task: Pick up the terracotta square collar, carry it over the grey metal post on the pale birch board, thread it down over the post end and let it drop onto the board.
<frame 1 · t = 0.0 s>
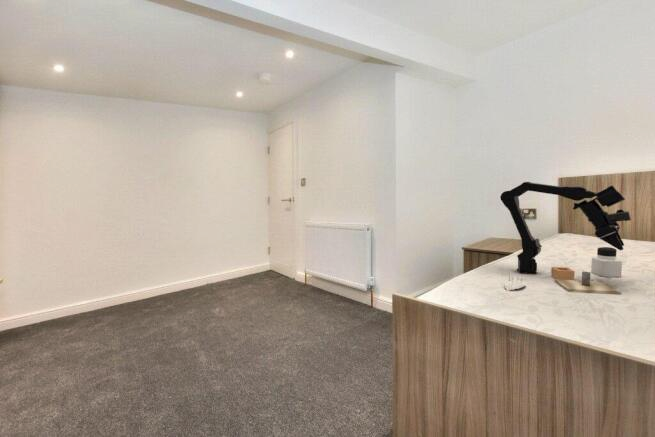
hand: (622, 247, 115), 15 cm above the countertop, tool tilted 35°, fingers open, 9 cm apart
pincushion: (515, 288, 119), on the countertop
collar: (562, 278, 128), on the countertop
post stand: (585, 287, 116), on the countertop
medicine bottle: (605, 275, 130), on the countertop
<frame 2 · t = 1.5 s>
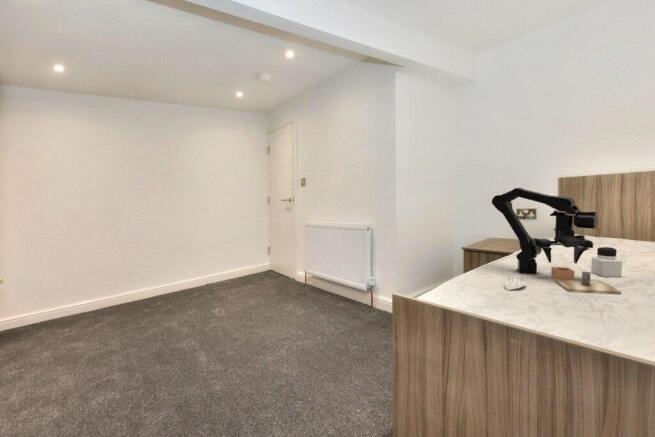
hand: (562, 263, 127), 7 cm above the countertop, tool pointing down, fingers open, 9 cm apart
nothing on the countertop moved.
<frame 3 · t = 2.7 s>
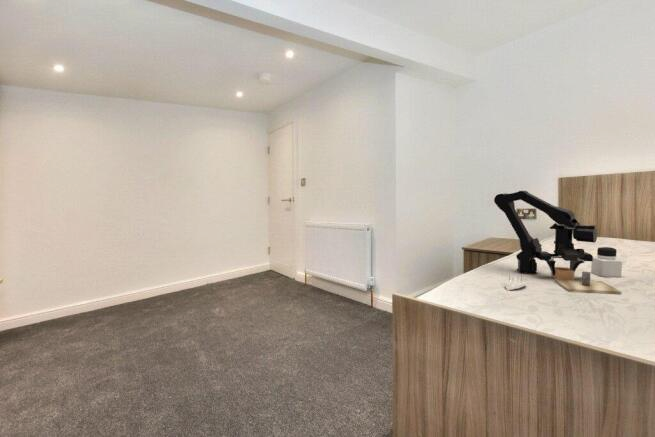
hand: (562, 275, 128), 1 cm above the countertop, tool pointing down, fingers closed on collar, 6 cm apart
collar: (562, 278, 128), on the countertop, touching gripper
everything else where it was.
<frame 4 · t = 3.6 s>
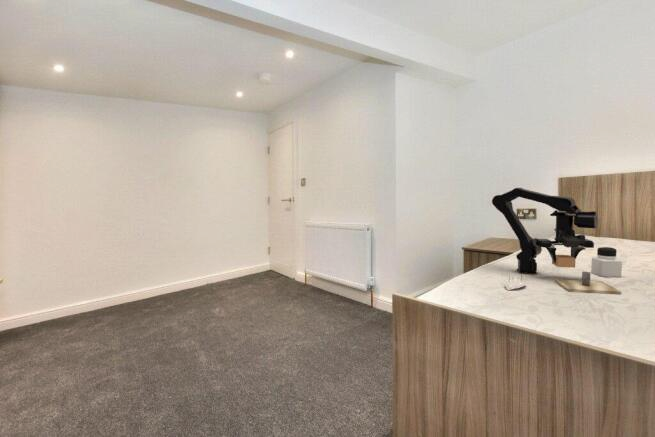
hand: (563, 263, 127), 7 cm above the countertop, tool pointing down, fingers closed on collar, 6 cm apart
collar: (563, 265, 127), point 6 cm above the countertop, touching gripper
everything else where it was.
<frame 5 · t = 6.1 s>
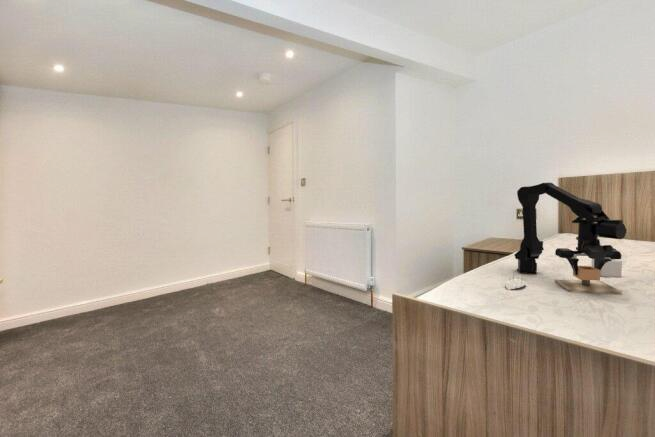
hand: (586, 275, 115), 5 cm above the countertop, tool pointing down, fingers closed on collar, 6 cm apart
collar: (585, 277, 115), point 4 cm above the countertop, touching gripper
when the fingers open (4 cm above the countertop, at t = 6.6 s): collar drops 2 cm, resting on post stand.
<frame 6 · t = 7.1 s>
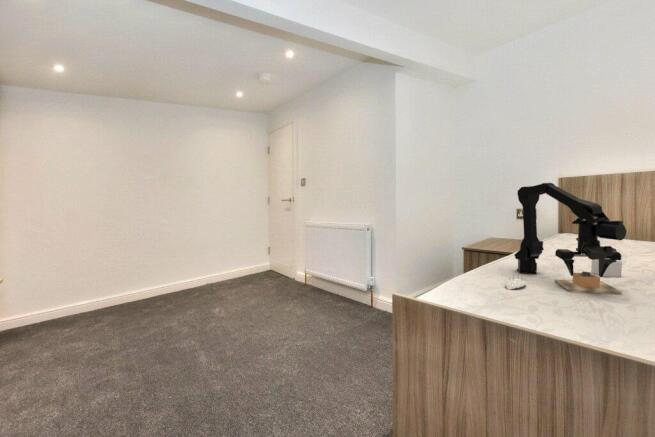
hand: (586, 276, 115), 4 cm above the countertop, tool pointing down, fingers open, 9 cm apart
collar: (585, 285, 115), point 1 cm above the countertop, touching post stand
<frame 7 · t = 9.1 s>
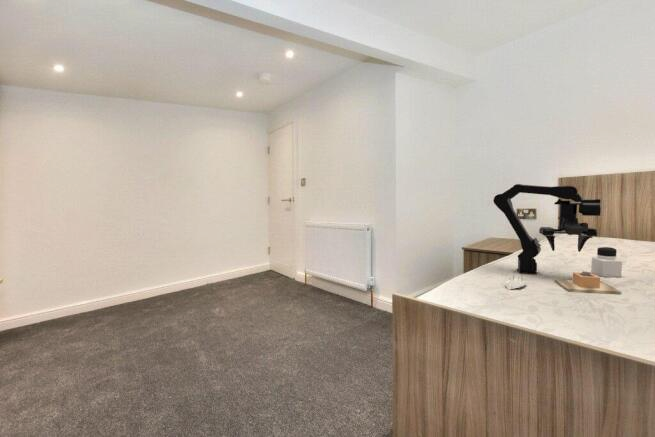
hand: (566, 251, 128), 11 cm above the countertop, tool pointing down, fingers open, 9 cm apart
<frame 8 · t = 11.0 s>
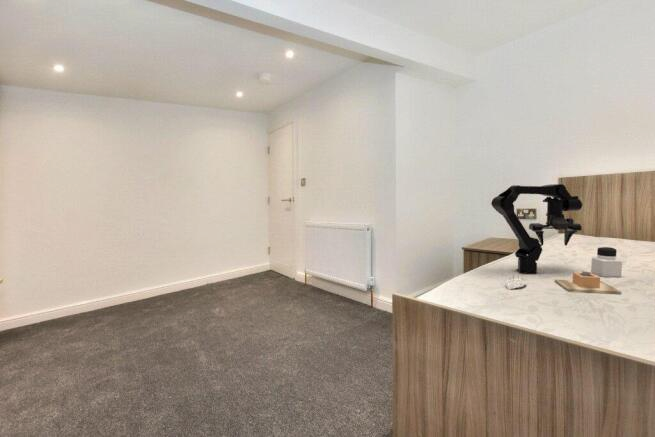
hand: (553, 245, 138), 12 cm above the countertop, tool pointing down, fingers open, 9 cm apart
at the end: collar 0.0 cm off-centre on the post stand, point 1.0 cm above the post stand's base; collar tilted 0°; the gripper is holding nothing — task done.
